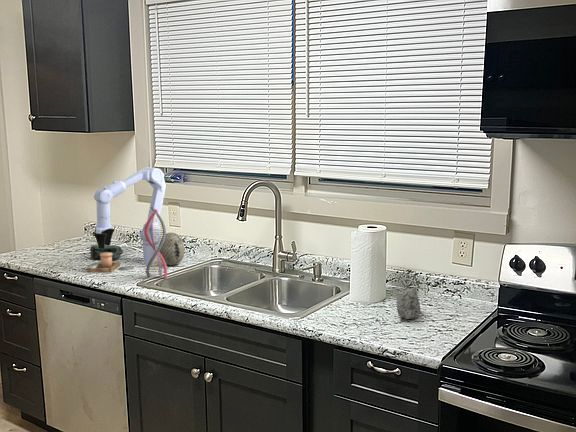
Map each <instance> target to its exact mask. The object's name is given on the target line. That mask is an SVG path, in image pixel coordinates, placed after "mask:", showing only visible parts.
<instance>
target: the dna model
mask: <svg viewBox="0 0 576 432" xmlns="http://www.w3.org/2000/svg"><path fill="white" fill-rule="evenodd" d="M151 209H152V210H153V213H152V215H151V217H150V218H149V219H148V218H147V219H148V221H147V220H146V222H147V224H146V226H145V229H144V230H145V231H144V232H145V233H144V234H145V237H146V239H147V241H148V243H149V244H150V245H151V247H152V248H153V249H154V250H155V253H154V255H153V256H152V258H151V260H150V261H149V263H147V264H146V268H145V274H146V277H147V278H150V277H156V278H163V279H167V278H168V266H167V264H166V262H165V260H164V258H163V256H162V255H161V254H160V252H159V251H160V250H161V248H162V246H163V243H164V241H165V237H166V234H167V230H166V229H167V228H166V225H165V222H164V220H163V218H162V217H161V214H160V215H159V214H158V210H157V209H154V207H151ZM155 215H156V216H157V217H156V216H155ZM154 217H156V218H159V219H156V218H154ZM154 219H156V220H159V221H156V222H159V226H160V229H161V230H158V231H160V232H153V230H155V229H152V228H157V227H153V226H158V225H153V224H150V223H154V222H153V221H155V220H154ZM154 224H158V223H154ZM149 225H151V226H149ZM148 227H150V229H148ZM148 230H150V231H148ZM147 233H150V234H147ZM152 233H160V234H152ZM148 235H151V236H150V237H149V236H148ZM153 235H161V236H153ZM154 237H161V238H157V239H160V240H159V243H160V245H156V246H159V247H156V246H155V244H154V242H158V241H153V240H157V239H153V238H154ZM150 238H152V239H150ZM161 239H162V240H161ZM151 240H152V242H151ZM160 241H161V242H160ZM156 244H158V243H156ZM156 248H158V249H156ZM157 255H158V256H157ZM156 256H157V257H158V258H157V257H156ZM155 258H157V259H158V260H156V259H155ZM159 258H160V259H159ZM153 260H156V261H158V262H156V263H158V264H154V263H152V262H155V261H153ZM159 260H162V261H159ZM160 262H162V263H160Z"/></svg>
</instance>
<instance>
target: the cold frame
mask: <svg viewBox="0 0 576 432" xmlns="http://www.w3.org/2000/svg"><path fill="white" fill-rule="evenodd" d="M120 267H121V262H120V261H112V267H110V268H101V260H95V261H94V262H92V263H90V264H89V265H88V266H86V267H85V269H86V270H88V273H104V274H105V273H106V274H107V273H109V274H110V273H113V272H114V271H115V270H117V269H119V268H120Z"/></svg>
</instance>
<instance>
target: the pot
mask: <svg viewBox="0 0 576 432" xmlns="http://www.w3.org/2000/svg"><path fill="white" fill-rule="evenodd" d="M112 256H113V254H112V253H111V252H104V253H100V257H101V258H100V261H101V268H110V267H112V262H113V260H112Z"/></svg>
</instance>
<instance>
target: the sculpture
mask: <svg viewBox="0 0 576 432" xmlns="http://www.w3.org/2000/svg"><path fill="white" fill-rule="evenodd" d="M89 251H90V260H92V261H93V260H97V259H99V258H100V259H101V257H100V253H104V252H111V253H112V254H113V256H112V261H116V260H119V259H120V257H121V255H122V254H123V253H124V250H123V249H122V247H121V245H111V244H110V245H105V247H104V249H99V247H98V244H93V245H91V246H90V248H89Z"/></svg>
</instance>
